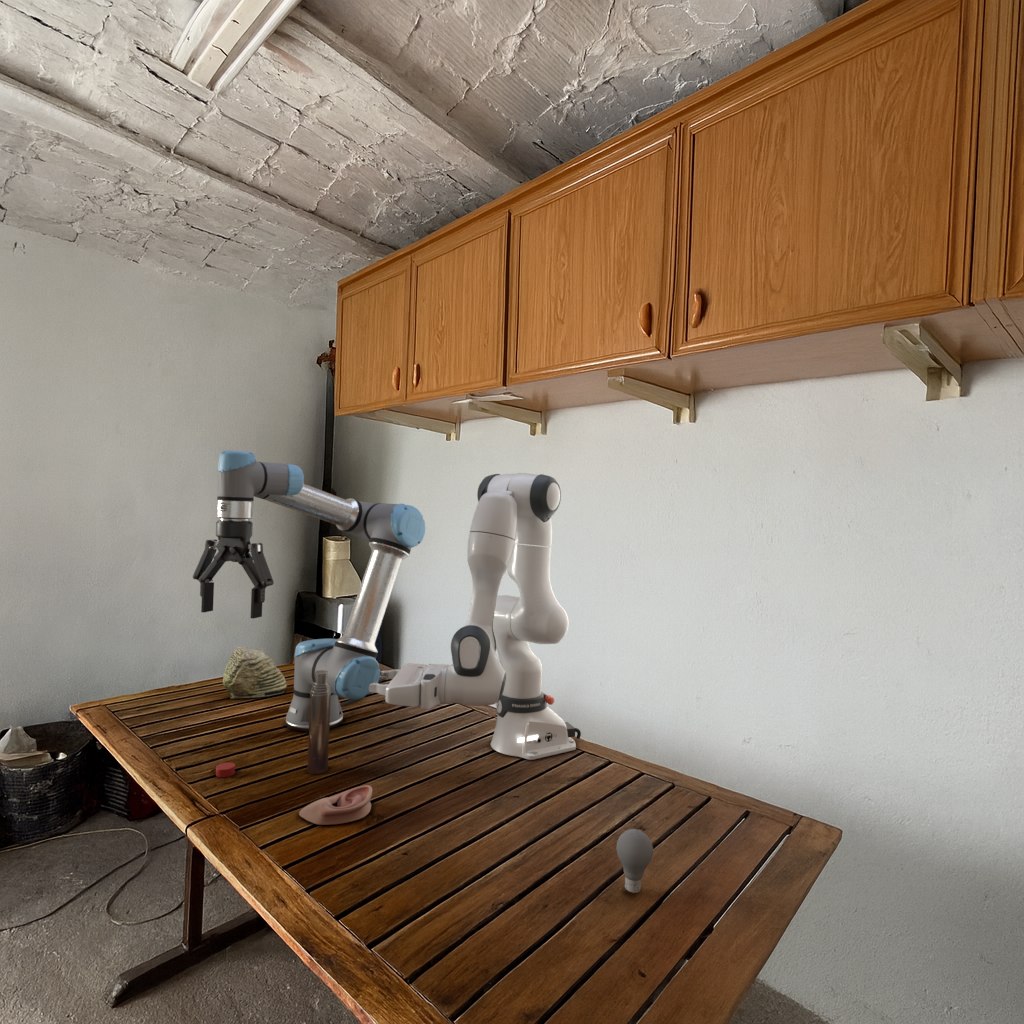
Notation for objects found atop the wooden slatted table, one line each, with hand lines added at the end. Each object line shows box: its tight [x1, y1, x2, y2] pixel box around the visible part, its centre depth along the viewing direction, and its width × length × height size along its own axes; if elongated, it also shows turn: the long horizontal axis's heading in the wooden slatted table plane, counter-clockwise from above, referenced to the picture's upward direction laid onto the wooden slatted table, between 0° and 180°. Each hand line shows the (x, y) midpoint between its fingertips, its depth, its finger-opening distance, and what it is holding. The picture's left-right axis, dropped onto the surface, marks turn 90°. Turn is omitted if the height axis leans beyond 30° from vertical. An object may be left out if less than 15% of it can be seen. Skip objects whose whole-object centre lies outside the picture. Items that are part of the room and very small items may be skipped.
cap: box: [215, 761, 236, 778], centre depth 143 cm, size 4×4×2 cm
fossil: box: [222, 646, 288, 699], centre depth 198 cm, size 9×18×15 cm, turn 132°
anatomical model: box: [298, 784, 373, 826], centre depth 127 cm, size 13×4×12 cm
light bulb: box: [615, 828, 654, 894], centre depth 106 cm, size 6×6×10 cm
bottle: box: [306, 670, 331, 775], centre depth 146 cm, size 5×5×23 cm
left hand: (231, 614), depth 142 cm, fingers open, 13 cm apart
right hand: (375, 680), depth 146 cm, fingers open, 8 cm apart
